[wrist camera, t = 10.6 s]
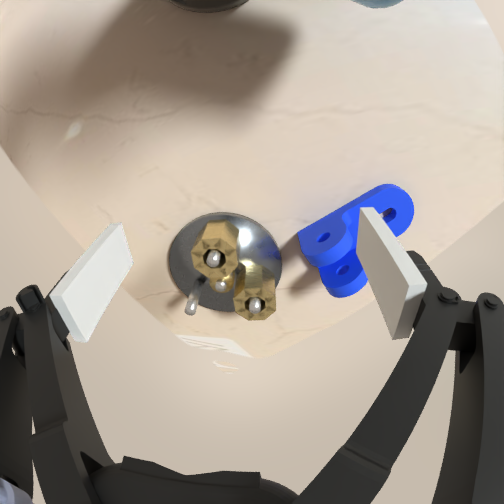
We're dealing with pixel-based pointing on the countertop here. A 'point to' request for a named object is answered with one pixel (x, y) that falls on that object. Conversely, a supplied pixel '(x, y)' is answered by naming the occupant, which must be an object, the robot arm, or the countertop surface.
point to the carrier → (239, 280)
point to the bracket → (351, 237)
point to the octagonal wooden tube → (221, 238)
